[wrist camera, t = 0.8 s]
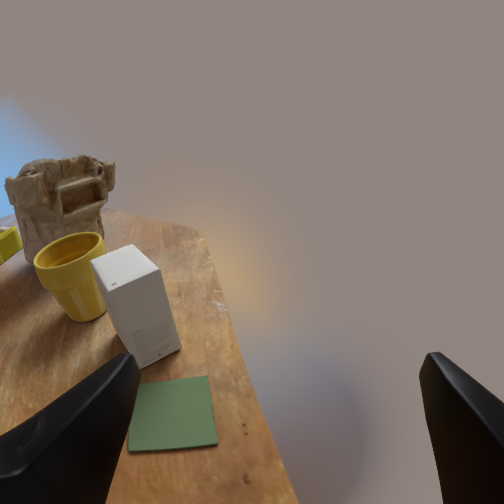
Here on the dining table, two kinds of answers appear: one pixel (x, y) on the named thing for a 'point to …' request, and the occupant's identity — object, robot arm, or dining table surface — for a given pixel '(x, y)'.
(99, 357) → the dining table surface
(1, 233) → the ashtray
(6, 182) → the ceramic vessel
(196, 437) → the mat
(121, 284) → the small box
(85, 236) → the flower pot
